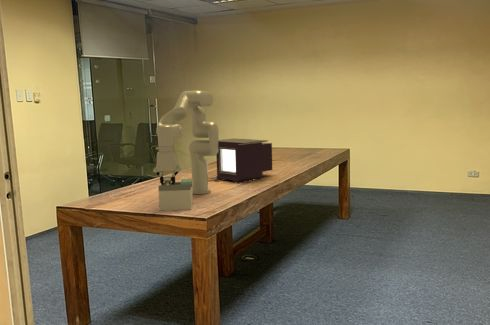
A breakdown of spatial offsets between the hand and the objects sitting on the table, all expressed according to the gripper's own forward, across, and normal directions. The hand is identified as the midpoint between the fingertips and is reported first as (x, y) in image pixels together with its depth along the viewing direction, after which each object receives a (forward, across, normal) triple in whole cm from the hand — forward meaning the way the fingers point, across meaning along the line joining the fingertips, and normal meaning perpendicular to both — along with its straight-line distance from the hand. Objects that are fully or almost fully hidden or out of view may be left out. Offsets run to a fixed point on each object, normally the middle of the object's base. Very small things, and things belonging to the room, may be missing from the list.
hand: (167, 183), depth 237 cm
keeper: (0, +9, 0) cm, 9 cm away
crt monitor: (+13, +43, +85) cm, 96 cm away
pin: (+7, 0, 0) cm, 7 cm away
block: (+13, +4, 0) cm, 13 cm away
